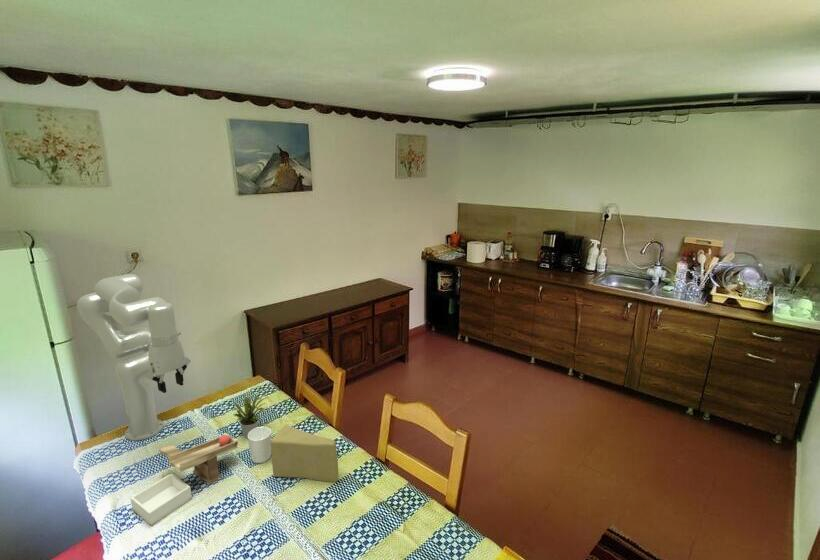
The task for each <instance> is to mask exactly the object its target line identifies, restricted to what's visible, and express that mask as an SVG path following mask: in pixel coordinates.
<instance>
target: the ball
mask: <svg viewBox="0 0 820 560" xmlns="http://www.w3.org/2000/svg"><path fill="white" fill-rule="evenodd" d="M220 436H221V437H220ZM220 436H219V437H220V438H219V444H220V445H221V446H225V445H227V444H228V443H229V441H230V439H229V437H228V436H227V435H223V436H222V435H220Z"/></svg>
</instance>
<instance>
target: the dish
mask: <svg viewBox="0 0 820 560" xmlns="http://www.w3.org/2000/svg"><path fill="white" fill-rule="evenodd" d="M191 489H192V488H191V486H190V485H189V484H187V483H186V482H184V481H183V480H181V479H180V478H179V477H177V476H176V475H174V474H173V473H169V474H167V475H165V477H163V478H161V479H159V480H158V481H156V482H154V483H152V484H151V485H149V486H147V487H146V488H144V489H143V490H141V491H139V492H138V493H136V494H135V495H132V496H131V497H130V503H131V508H132V511H133V512H134V513H136V514H137V515H138V516H139V517H141V518H142V519H143V520H144V521H145V522H146V523H147V524H148V525H150V526H151V527H152V526H154V525H155V524H156V523H158V522H160V521H161V520H162V519H164V518H165V517H168V515H170V514H171V513H173V512H174V511H176V510H177V509H179V508H180V507H181V506H183V505H184V504H186V503H187V502H189V501H190V500H192V498H193V496H192V490H191Z"/></svg>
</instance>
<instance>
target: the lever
mask: <svg viewBox="0 0 820 560" xmlns="http://www.w3.org/2000/svg"><path fill="white" fill-rule="evenodd" d="M223 435H227V436H228V437H229V439H230V441H229V443H228V444H227V445H225V446H221V445H220V444H219V438H220V437H221V436H223ZM238 442H239V439H238V438H235V437H234V436H232V435H230V434H229V433H226V432H224V433H222V435H220V436H217V437H215V438H211V439H209V440H208V441H205V442H202V443H200V444H197V445H195V446H192V447H189V448H187V449H184V450H181V449H179V448H178V447H176V446H175V445H173V444H172V443H171V444H167V445H164V446H162V447H160V448H158V452H159V453H161V454H162V455H163V456H165V457H166V458H168V464H169V465H170V466H171V467H173V468H175V469H176V470H178V472H184V471H186V470H189V469H191V468H193V467H194V466H196V465H198V464H201V463H203V462H205V461H207V462H208V460H207V459H209V458H211V457H212V456H214V455H217V457H220V456H222V455H224V454H226V453H229V452H231V451H233V450H236V449H237V448H238V444H239V443H238Z"/></svg>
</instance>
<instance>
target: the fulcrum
mask: <svg viewBox="0 0 820 560" xmlns="http://www.w3.org/2000/svg"><path fill="white" fill-rule="evenodd" d="M207 460H208V462H207V461H205V462H203V463H201V464H198V465H196V466H194V469H193V470H192V473H193V474H194V475H195V476H197V477H199V478H200V479H201V480H203V481H204V482H206V483H207V484H209V485H212V484H213V483H215V482H216V481H218V480H219V479H221V478H222V474H221V473H220V472H219V471H220V470H219V465H218V464H219V463H218V456H217V455H214V456H212V457H211V458H209V459H207Z"/></svg>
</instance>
